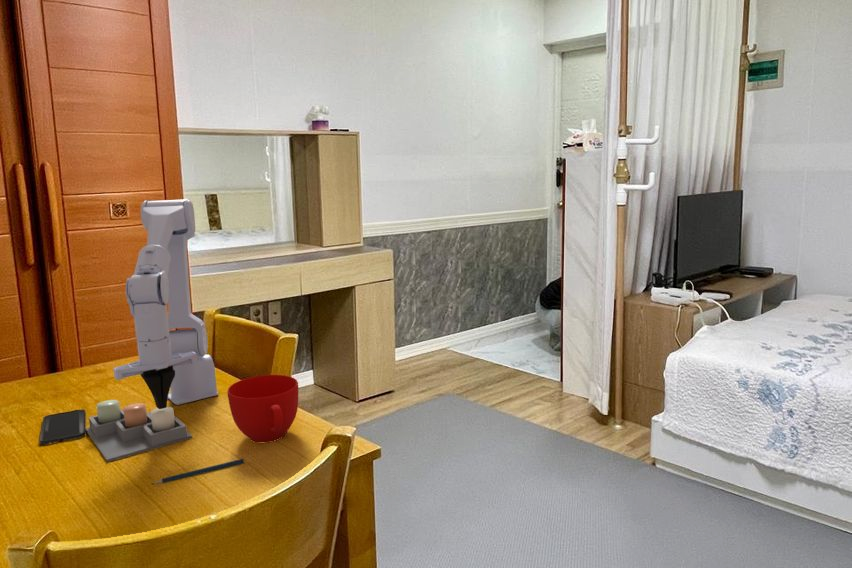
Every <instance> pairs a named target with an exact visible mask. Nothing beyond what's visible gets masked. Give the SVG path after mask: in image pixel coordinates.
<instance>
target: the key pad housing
mask: <svg viewBox="0 0 852 568" xmlns="http://www.w3.org/2000/svg"><path fill="white" fill-rule="evenodd" d="M146 413H147V423H146V424H144V425H140V426H136V427H126V426H125V420H124V412H123V408H122V409H121V408H120V414H121V418H120V419H119V420H117V421H113V422H109V423H100V422H99V420H98V414H96V415H93V416H90V417H88V422H89V427H86V428H85V429H86V433H87V435H88V436H89V438H90V439H91V440H92V442H93V443H94V445H95V446H96V448H97V450H98V451H99V452H100V453H101V456H103V457H104V460H105V461H106V462H107V463H110V462H112V461H116V460H119V459H120V460H121V459H122V458H127V457H131V456H134V455H138V454H141V453H145V452H148V451H151V450H155V449H159V448H162V447H165V446H170V445H172V444H176V443H181V442H183V441H187V440H191V439H193V435H192V434H191V433H190V432H189V431H188V429H187V425H186V424H184V423H183V422H182V420H180V419H179V418H178V417H177V416H175V415H174V420H175V427H174V428H172V429H168V430H165V431H154V430H153V428H152V420H151V411H149V412H146Z"/></svg>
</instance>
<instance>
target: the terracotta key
mask: <svg viewBox="0 0 852 568" xmlns="http://www.w3.org/2000/svg"><path fill="white" fill-rule="evenodd" d="M146 406H147V405H146V404H145V403H142V402H138V403H131V404H128V405H125V406H124V407H123V408H122V409H123V412H124V420H125V426H126V427H136V426H140V425H144V424H146V423H147V413H148V412H147V407H146Z"/></svg>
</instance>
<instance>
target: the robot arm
mask: <svg viewBox="0 0 852 568" xmlns="http://www.w3.org/2000/svg"><path fill="white" fill-rule="evenodd" d="M195 217H196V216H195V209H194V204H193V202H192V201H191V200H190V199H189V198H184V199H170V200H169V199H165V200H164V199H163V200H144V201H143V202H142V203H141V205H140V219H141V224H142V226H143V228H144V229H145V231H146V233H147V239H146V240H147V241H146V246H143V247H142V248H141V249H140V250H139V252H138V255H137V256H138V257H137V261H136V265H135V268H134V272H133V274H132V275H131V277H127V279H126V283H125V297H126V300H127V304H128V305H129V310H130V311H129V312H130V315H131V316H132V317H133V322H134V327H135V328H134V329H135V337H136V345H137V354H138V360H136V361H134V362H130V363H126V364H124V365H123V364H122V365H120V366H116V367H113V368H112V370H113V377H114V379H115V380H116V381H121V380H124V379H125V378H129V377H134V376H139V375H140V377H141V378H142V379H143V381H144V382H145V384H146V386H147V387H148V389H149V391H150V392H151V393H150V394H151V395H152V397H153V401H154V402H155V407H156V409H157V408H158V409H163V408H166V407H168V400H169V401H170V402H172V403H173V405H176V406H178V405H183V404H187V403H191V402H194V401H195V402H196V401H199V400H203V399H208V398H211V397H214V396H218V395H219V392H218V390H217V389H218V388H217V380H216V379H217V378H216V377H217V376H216V368H215V364H214V363H215V362H214V361H213V358H212V356H211V355H210V354H207V352H208V349H209V345H208V339H209V338H208V333H207V331H206V329H207V328H206V324H205V322H204V321H203V320H202V319H201V318H200V317H198V316H196V315H194V314H193V313H192V306H191V291H190V277H189V264H188V263H189V262H188V242H189V240H190V239H192V238H194V237H195V236H196V235H195V234H196V220H195ZM187 328H188V329H187ZM174 329H175V330H174ZM176 329H177V330H176Z"/></svg>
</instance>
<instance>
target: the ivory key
mask: <svg viewBox="0 0 852 568" xmlns="http://www.w3.org/2000/svg"><path fill="white" fill-rule="evenodd" d="M150 412H151V420H152V428H153V430H154V431H165V430H168V429H172V428H174V427H175V420H174V417H175V413H174V408H173V407H170V406H167V407H166V408H163V409H158V408H157V407H156V408H155V409H152V410H151V411H150Z"/></svg>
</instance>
